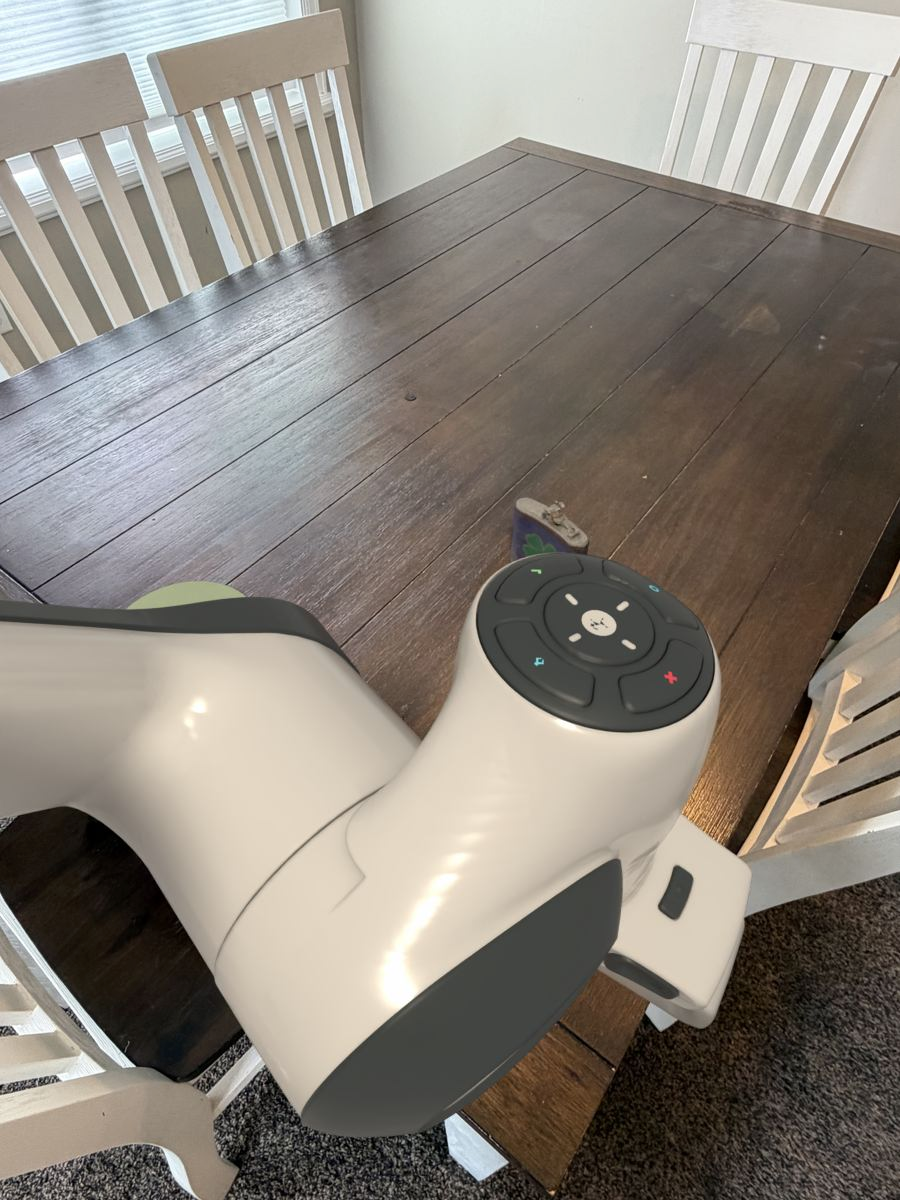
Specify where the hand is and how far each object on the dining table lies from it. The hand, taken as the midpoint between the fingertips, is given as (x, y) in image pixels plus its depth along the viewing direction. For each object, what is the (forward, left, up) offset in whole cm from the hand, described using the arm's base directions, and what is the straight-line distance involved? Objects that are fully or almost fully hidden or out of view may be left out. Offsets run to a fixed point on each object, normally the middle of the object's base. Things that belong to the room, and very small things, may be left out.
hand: (526, 917), depth 44 cm
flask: (+36, +16, -14) cm, 42 cm away
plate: (+9, +43, -14) cm, 46 cm away
